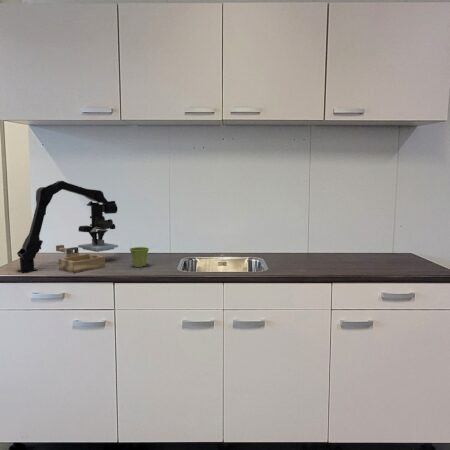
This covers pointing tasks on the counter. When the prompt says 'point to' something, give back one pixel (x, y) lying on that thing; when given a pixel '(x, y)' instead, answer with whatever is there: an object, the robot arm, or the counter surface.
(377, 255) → the counter surface
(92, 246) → the lid
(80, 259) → the toolbox
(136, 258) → the plant pot
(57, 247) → the beige long block
